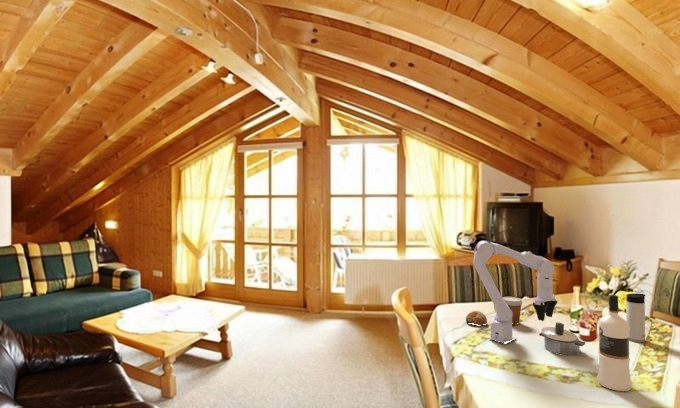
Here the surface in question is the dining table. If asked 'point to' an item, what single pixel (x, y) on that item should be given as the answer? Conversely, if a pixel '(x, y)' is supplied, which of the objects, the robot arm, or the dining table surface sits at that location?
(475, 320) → the bread roll
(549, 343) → the pot
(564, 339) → the lid
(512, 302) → the disposable coffee cup
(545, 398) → the dining table surface
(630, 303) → the travel mug
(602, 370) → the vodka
